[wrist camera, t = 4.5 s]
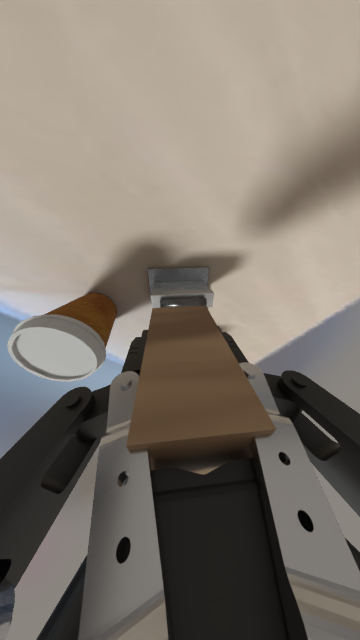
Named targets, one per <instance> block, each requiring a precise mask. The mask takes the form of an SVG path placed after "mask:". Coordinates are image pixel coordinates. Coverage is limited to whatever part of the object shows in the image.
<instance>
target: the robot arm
mask: <svg viewBox="0 0 360 640" xmlns="http://www.w3.org/2000/svg"><path fill="white" fill-rule="evenodd" d="M217 327H218V328H219V326H217ZM219 330H220V332H221V333H222V335H223V337H224V339H225V340H226V342H227V344H228V346H229V347H230V349H231V351H232V353H233V354H234V356H235V358H236V360H237V361H238V363H239V365H240V367H241V368H242V370H243V372H244V373H245V375H246V377H247V379H248V380H249V382H250V384H251V386H252V387H253V389H254V391H255V393H256V394H257V396H258V398H259V400H260V401H261V403H262V405H263V407H264V408H265V410H266V412H267V413H268V415H269V417H270V419H271V420H272V422H273V424H274V426H275V427H276V430H275V432H274V433H273V434H266V435H257V436H254V438H253V439H252V441H251V442H250V444H249V447H250V449H251V452H252V455H253V458H247V459H239V460H231V461H228V462H227V463H225V464H223V465H221V466H220V467H218V468H216V469H214V470H212V471H211V472H209V473H207V474H198V473H194V472H190V471H186V470H182V469H179V468H167V469H159V470H151V462H150V455H149V452H148V449H147V448H143V449H134V450H128V449H127V447H126V443H127V438H128V433H129V428H130V423H131V417H132V412H133V407H134V402H135V397H136V392H137V386H138V381H139V376H140V371H141V366H142V361H143V356H144V350H145V345H146V340H147V335H148V330H143V333H142V337H136V338H135V339H134V340H133V341H132V342H131V345H130V349H129V351H128V354H127V357H126V360H125V363H124V366H123V369H122V372H121V374H119V375H118V376H117V377H115V378H114V380H113V381H112V383H111V384H110V385H108V386H106V387H104V388H101V389H98V390H95V391H93V392H91V390H90V389H88V388H87V387H78V388H75V389H73V390H71V391H69V392H67V393H66V394H65V395H63V397H61V398H60V399H59V400H58V401H57V402H56V404H54V405H53V406H52V407H51V408H50V409H49V410H48V411H47V413H46V414H44V416H43V417H41V418H40V419H39V420H38V421H37V422H36V423H35V425H34V426H33V427H32V428H31V429H30V430H29V431H28V432H27V433H26V434H25V435H24V436H23V437H22V438H21V439H20V440H19V441H18V442H17V443H16V444H15V445H14V446H13V447H12V448H11V449H10V450H9V451H8V452H7V453H6V454H5V455H4V456H3V457H2V458H1V459H0V640H4V639H5V638H6V635H7V633H8V631H9V628H10V625H11V621H12V614H13V608H14V603H15V590H14V589H15V587H16V585H17V584H18V582H19V581H20V579H21V577H22V575H23V574H24V572H25V570H26V568H27V567H28V565H29V563H30V562H31V560H32V558H33V557H34V555H35V553H36V551H37V550H38V548H39V546H40V544H41V543H42V541H43V539H44V538H45V536H46V534H47V533H48V531H49V529H50V527H51V526H52V524H53V522H54V520H55V519H56V517H57V515H58V514H59V512H60V510H61V509H62V507H63V505H64V503H65V502H66V500H67V498H68V497H69V495H70V493H71V491H72V490H73V488H74V486H75V485H76V483H77V481H78V479H79V478H80V476H81V474H82V473H83V471H84V469H85V467H86V466H87V464H88V462H89V460H90V459H91V457H92V456H93V454H94V452H95V450H96V449H97V447H98V445H99V444H100V446H99V454H98V463H97V473H96V482H95V491H94V500H93V509H92V518H91V528H90V537H89V546H88V554H87V556H86V557H85V559H84V561H83V563H82V564H81V566H80V568H79V569H78V571H77V573H76V574H75V576H74V577H73V579H72V581H71V583H70V584H69V586H68V588H67V589H66V591H65V593H64V594H63V596H62V598H61V599H60V601H59V603H58V604H57V606H56V608H55V609H54V611H53V613H52V614H51V616H50V618H49V620H48V621H47V623H46V624H45V626H44V628H43V630H42V631H41V633H40V634H39V636H38V638H37V639H36V640H360V552H359V551H358V550H357V549H356V548H355V547H354V546H353V545H352V544H351V543H350V542H349V541H348V540H347V539H346V538H345V537H344V535H343V533H342V531H341V529H340V527H339V524H338V522H337V520H336V518H335V516H334V513H333V511H332V509H331V507H330V505H329V502H328V500H327V498H326V496H325V494H324V491H323V489H322V487H321V485H320V482H319V480H318V478H317V476H316V473H315V471H314V469H313V467H312V465H311V463H312V464H313V465H314V466H315V467H316V469H317V470H318V471H319V472H320V473H321V474H322V475H323V476H324V478H325V479H326V480H327V481H328V482H329V483H330V484H331V485H332V486H333V488H334V489H335V490H336V491H337V492H338V493H339V494H340V495H341V496H342V497H343V499H344V500H345V501H346V502H347V503H348V504H349V505H350V506H351V508H352V509H353V510H354V511H355V512H356V513H357V514H358V515H359V516H360V414H359V413H357V412H356V411H355V410H353V409H352V408H350V407H349V406H347V405H346V404H345V403H343V402H342V401H340V400H339V399H338V398H336V397H334V396H333V395H332V394H330V393H329V392H328V391H326V390H325V389H323V388H322V387H320V386H319V385H318V384H316V383H315V382H313V381H312V380H311V379H309V378H308V377H306V376H305V375H303V374H301V373H298V372H296V371H284V372H283V373H282V375H281V376H276V375H270V374H266V373H263V372H262V371H261V370H260V369H259V368H258V367H257V366H255V365H253V364H251V363H249V362H248V361H247V359H246V358H245V356H244V355H243V353H242V352H241V350H240V349H239V347H238V346H237V344H236V343H235V341H234V340H233V338H232V336H230V335H229V334H228V333H226V332H222V331H221V329H220V328H219ZM303 410H304V411H305V412H306V413H307V414H308V415H310V417H311V418H313V419H314V420H315V421H316V422H317V423H318V424H319V425H321V426H322V427H323V428H324V429H325V430H326V431H327V432H328V433H329V434H331V435H332V436H333V437H334V438H335V439H336V440H337V441H338V443H336V442H334V441H332V440H331V439H330V438H329V437H327V436H326V435H325V434H324V433H323V432H322V431H321V430H320V429H319V428H318V427H316V426H315V425H314V424H313V423H312V422H311V421H310V420H309V419H308V418H307V417H305V416H304V415H303V414H302V413H301V412H302V411H303Z"/></svg>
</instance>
